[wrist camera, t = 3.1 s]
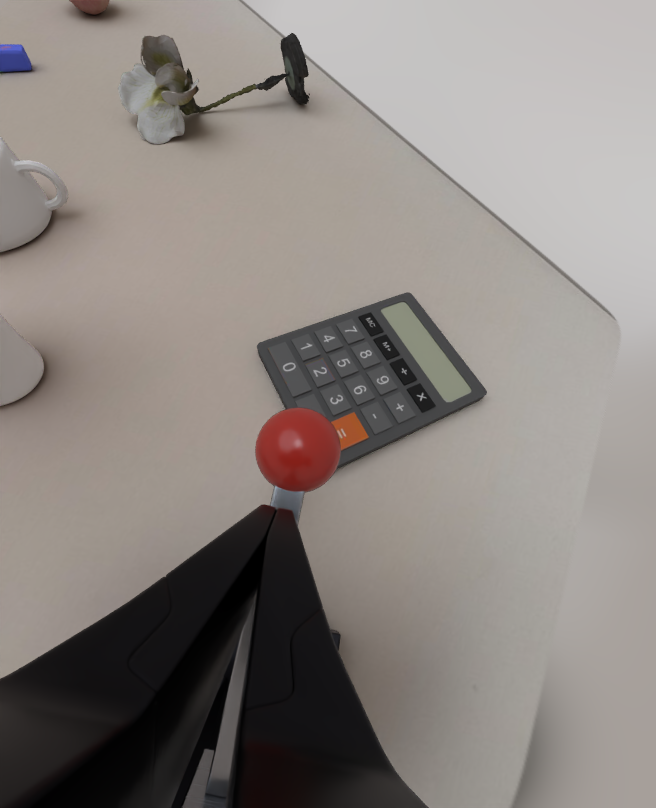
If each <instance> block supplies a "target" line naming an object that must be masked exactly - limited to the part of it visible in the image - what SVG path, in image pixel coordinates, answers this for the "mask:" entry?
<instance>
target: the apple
mask: <svg viewBox="0 0 656 808" xmlns="http://www.w3.org/2000/svg"><path fill="white" fill-rule="evenodd" d="M70 1H71V2H72V3H73V4H74V5H75V6H76V7H77V8H78V9H80V10H81V11H83V12H85V13H88V14H92V15H97V14H99V13H101V12H103V11H104V10H105V9H106V8H107V6H108V4H109V0H70Z"/></svg>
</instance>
